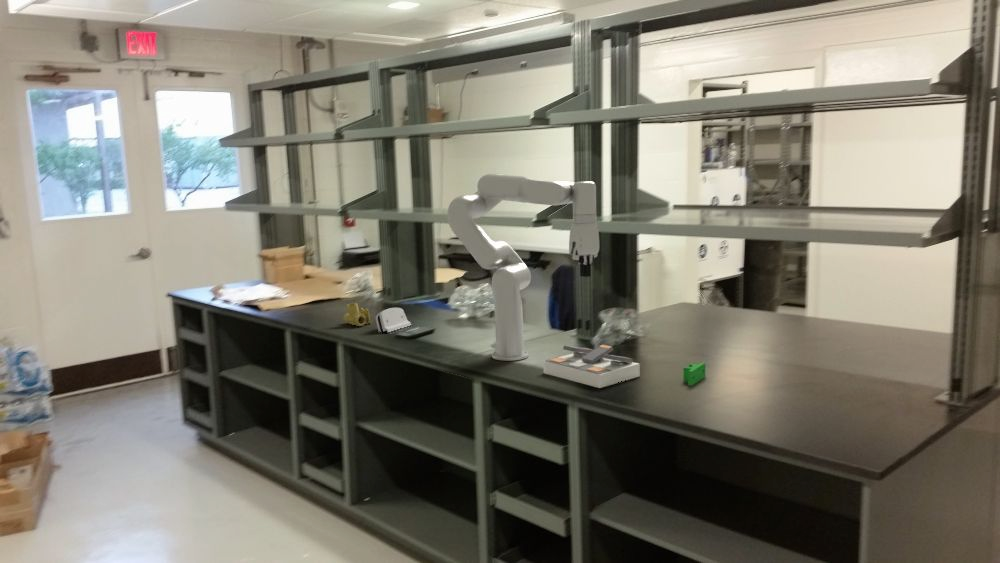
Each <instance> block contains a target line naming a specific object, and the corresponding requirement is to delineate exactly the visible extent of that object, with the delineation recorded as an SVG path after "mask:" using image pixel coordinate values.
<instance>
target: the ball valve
mask: <svg viewBox="0 0 1000 563" xmlns="http://www.w3.org/2000/svg"><path fill="white" fill-rule="evenodd" d="M346 308H347V313H345V314H344V315H343V322H344V323H345V322H347V323H346V324H349V325H351V324H352V325H351V326H354V325H361V326H364V325H365V324H366V323H368V322H369V323H371V324H372V320H371V314H370V310H369V308H365V309H364V308H363V307H360V308H359V305H358V303H357V302H353V303H348V304H346ZM361 326H360V327H361Z"/></svg>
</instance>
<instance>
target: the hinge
mask: <svg viewBox="0 0 1000 563" xmlns="http://www.w3.org/2000/svg"><path fill="white" fill-rule="evenodd" d="M374 319H375V322H376V326H377V330H378V332H379V331H380V332H381V333H383V332H387V333H388V332H391V331H394V330H397V329H400V328H404V327H407V326H410V325H412V323H411V321H409V320H408V318H407V316H406V313H405V311H404V309H403V308H401V307H390V308H387V309H383V310H382V311H380V312H379V313H378V314H377V315H376V316H375V318H374ZM382 331H383V332H382Z"/></svg>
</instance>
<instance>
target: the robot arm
mask: <svg viewBox="0 0 1000 563" xmlns="http://www.w3.org/2000/svg"><path fill="white" fill-rule="evenodd" d="M476 185H477V191H476V192H474V193H472V194H463V195H459V196H456V197H454V198H453V199H452V201H451V202H450V203H449V205H448V208H447V222H448V225H449V228H450V229H451V232H453V234H454V235H455V236H456V237H457V239H458V240H459V241H460V242H461V243H462V244H463V246H464V247H465V249H466V250H467V251H468V252H469V253H470V255H471V256H472V257H473V258H474V260H475V261H476V262H477V264H478V265H479V266H480V267H481V268H482V269H484V270H493V269H496V270H495V272H493V275H492V277H491V278H492V279H491V290H492V294H493V301H494V317H495V318H494V322H495V324H494V325H495V341H494V342H493V343H491V344H490V347H491V348H492V349H494V351H493V352H492V353H491V358H492V359H494V360H496V361H504V362H505V361H506V362H507V361H510V362H511V361H520V360H525V359H527V358H528V357H529V352H528V351H526V350H524V347H525V346H524V320H523V319H524V317H523V315H524V314H523V301H522V297H521V296H522V295H521V292H520V291H522V290H524V289H526V288H527V287H528V286H529V285H530V283H531V280H532V274H531V271H530V269H529V267H528V266H527V264H526V263H525V262H524V261H523V260H522V258H521V257H520V256H519V254H518V253H517V252H516V250H514V249H513V247H512V246H511V245H510V244H509V243H508V242H506V241H503V240H500V239H494V240H493V239H491V237H489V235H488V234H487V232H486V231H484V228H482V227H481V226H480V225H478V223H476V222H475V221H474V219H479V218H482V217H484V216H485V215H487V214H488V213H489V212H490V211H492V209H494V208H495V207H496V206H498V205H499V204H500V203H501V202H502V201H509V202H517V203H525V204H526V203H528V204H535V205H543V206H544V205H545V206H560V205H562V206H563V205H569V204H572V224H571V225H570V229H569V230H570V231H569V237H568V238H569V240H568V252H569V255H570V256H572V257H571V259H572V260H576V261H577V262H578V265H579V276H580V277H583V278H585V277H586V278H589V277H591V276H592V275H591V274H592V273H591V271H592V270H591V266H592V264H593V260H594V259H595V258H597V257H598V254H599V251H600V234H599V233H600V232H599V228H598V229H597V226H598V223H597V219H598V216H597V185H596V183H595V182H594V181H591V180H590V181H587V180H586V181H576V182H575V181H567V180H560V181H558V180H557V181H548V180H547V181H546V180H536V179H535V180H534V179H529V178H528V177H525V176H521V175H510V174H509V175H507V174H503V173H487V174H484V175H482V176H481V177H480V178H479V179H478V182H477V184H476Z"/></svg>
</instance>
